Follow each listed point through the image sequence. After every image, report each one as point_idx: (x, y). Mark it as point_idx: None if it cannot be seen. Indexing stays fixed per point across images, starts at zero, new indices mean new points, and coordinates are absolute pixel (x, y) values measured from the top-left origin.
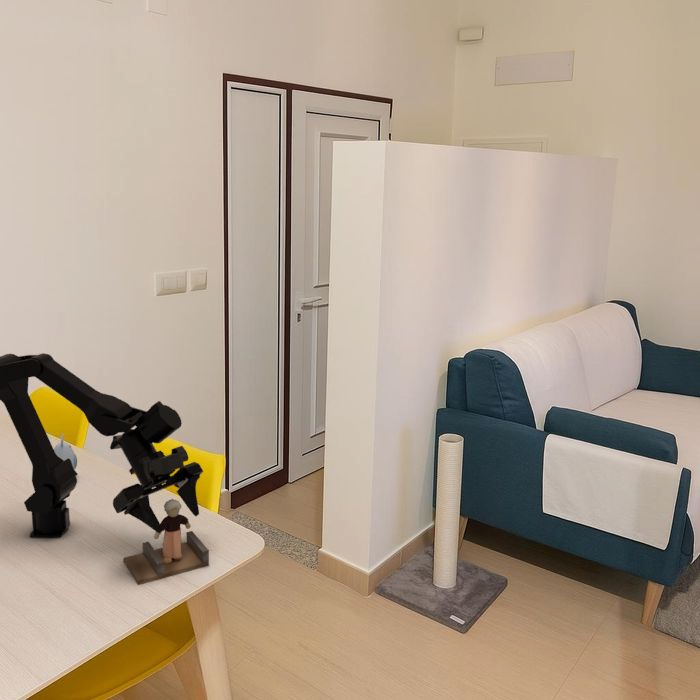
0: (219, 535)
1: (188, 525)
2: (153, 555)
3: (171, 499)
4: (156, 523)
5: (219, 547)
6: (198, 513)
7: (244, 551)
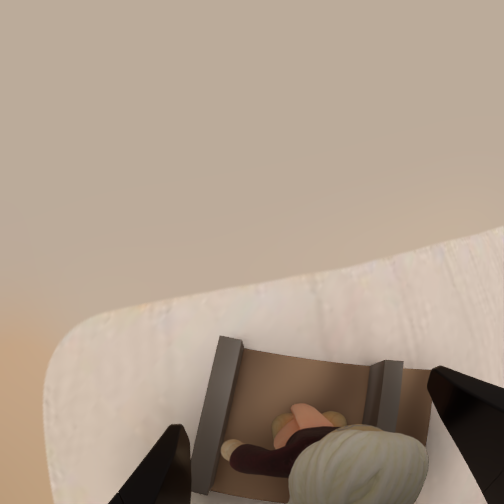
0: (101, 456)
1: (237, 443)
2: (392, 417)
3: (388, 499)
4: (472, 379)
5: (139, 407)
6: (175, 424)
7: (106, 337)
